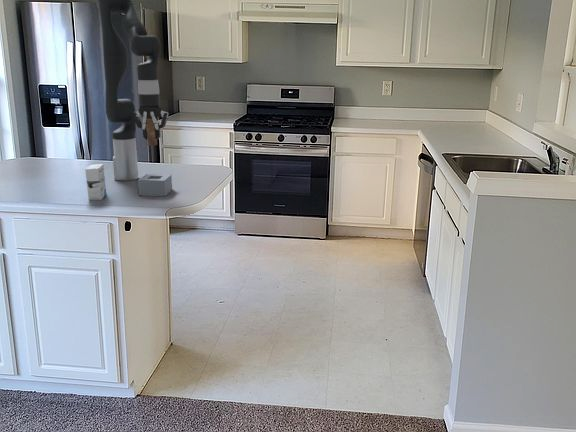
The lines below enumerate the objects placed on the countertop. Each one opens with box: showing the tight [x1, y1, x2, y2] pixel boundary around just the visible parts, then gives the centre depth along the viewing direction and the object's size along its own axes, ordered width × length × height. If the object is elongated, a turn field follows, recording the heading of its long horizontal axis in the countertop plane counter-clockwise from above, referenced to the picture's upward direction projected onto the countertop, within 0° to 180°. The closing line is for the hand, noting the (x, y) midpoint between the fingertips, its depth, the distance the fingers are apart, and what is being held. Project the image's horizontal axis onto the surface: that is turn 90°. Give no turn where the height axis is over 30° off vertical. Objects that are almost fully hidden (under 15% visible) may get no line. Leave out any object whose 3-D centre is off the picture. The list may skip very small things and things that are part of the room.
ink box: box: [85, 163, 107, 201], centre depth 210 cm, size 8×5×12 cm, turn 5°
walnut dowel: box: [146, 119, 158, 147], centre depth 211 cm, size 4×4×10 cm
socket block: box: [137, 173, 173, 197], centre depth 217 cm, size 10×10×6 cm
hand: (152, 139), depth 212 cm, fingers closed on walnut dowel, 3 cm apart
